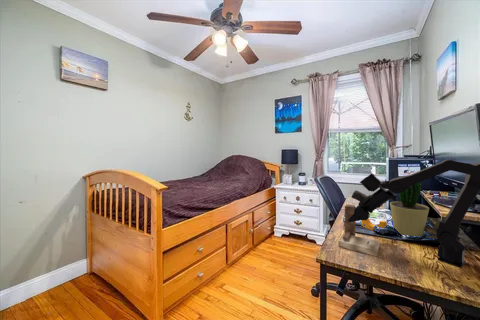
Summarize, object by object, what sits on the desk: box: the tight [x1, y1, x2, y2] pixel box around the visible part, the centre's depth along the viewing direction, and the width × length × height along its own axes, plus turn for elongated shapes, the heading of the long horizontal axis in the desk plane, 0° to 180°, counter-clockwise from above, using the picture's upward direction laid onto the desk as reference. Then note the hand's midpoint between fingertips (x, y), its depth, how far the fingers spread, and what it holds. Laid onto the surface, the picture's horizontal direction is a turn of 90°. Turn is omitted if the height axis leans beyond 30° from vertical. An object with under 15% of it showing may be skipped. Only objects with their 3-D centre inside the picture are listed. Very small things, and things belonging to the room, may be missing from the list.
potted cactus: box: [389, 182, 430, 236], centre depth 105 cm, size 15×15×30 cm
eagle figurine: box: [424, 225, 438, 239], centre depth 97 cm, size 8×7×9 cm
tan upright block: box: [343, 203, 356, 240], centre depth 99 cm, size 4×12×16 cm, turn 141°
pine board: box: [337, 232, 381, 257], centre depth 94 cm, size 15×10×3 cm, turn 51°
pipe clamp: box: [361, 217, 388, 231], centre depth 112 cm, size 12×4×6 cm, turn 22°
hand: (350, 218), depth 102 cm, fingers open, 9 cm apart
